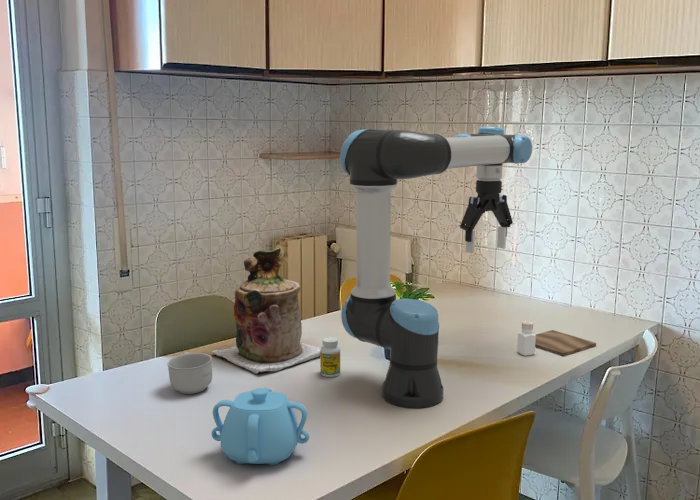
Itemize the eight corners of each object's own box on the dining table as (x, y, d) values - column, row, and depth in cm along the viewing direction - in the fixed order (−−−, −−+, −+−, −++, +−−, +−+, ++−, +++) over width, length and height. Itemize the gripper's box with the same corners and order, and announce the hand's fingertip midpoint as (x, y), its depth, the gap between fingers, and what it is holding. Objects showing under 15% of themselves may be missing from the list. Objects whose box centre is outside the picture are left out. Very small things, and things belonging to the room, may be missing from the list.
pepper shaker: (523, 356, 198) (525, 325, 196) (516, 352, 201) (517, 321, 200) (535, 355, 199) (537, 323, 197) (527, 350, 203) (529, 320, 201)
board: (563, 356, 198) (563, 353, 198) (519, 342, 210) (519, 338, 210) (596, 346, 207) (596, 342, 207) (552, 332, 220) (552, 329, 220)
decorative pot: (276, 429, 150) (275, 370, 148) (315, 458, 137) (315, 394, 135) (207, 449, 141) (205, 386, 139) (242, 481, 128) (240, 413, 126)
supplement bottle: (340, 370, 186) (340, 336, 184) (340, 377, 180) (340, 342, 179) (320, 370, 185) (320, 336, 184) (320, 377, 180) (320, 343, 178)
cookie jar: (276, 337, 214) (274, 236, 208) (329, 356, 197) (329, 247, 191) (208, 355, 197) (205, 246, 191) (260, 378, 180) (258, 259, 174)
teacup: (212, 396, 167) (211, 365, 166) (166, 399, 166) (165, 368, 164) (213, 376, 181) (212, 347, 179) (171, 378, 179) (170, 349, 178)
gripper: (468, 182, 192) (465, 256, 196) (526, 178, 206) (522, 247, 210) (449, 180, 198) (447, 252, 202) (507, 177, 212) (504, 244, 216)
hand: (485, 250), depth 206 cm, fingers open, 13 cm apart
